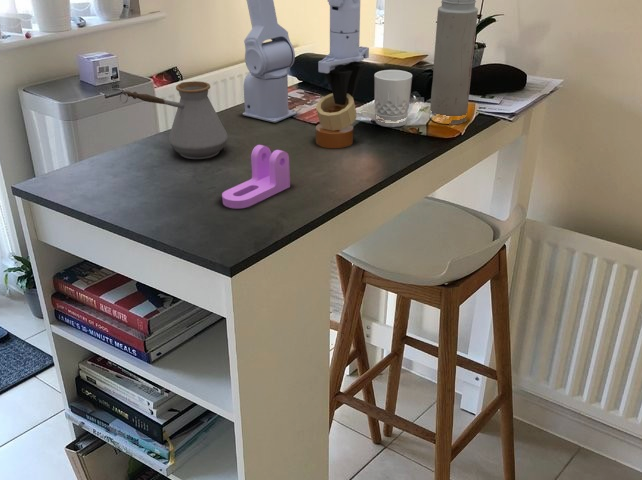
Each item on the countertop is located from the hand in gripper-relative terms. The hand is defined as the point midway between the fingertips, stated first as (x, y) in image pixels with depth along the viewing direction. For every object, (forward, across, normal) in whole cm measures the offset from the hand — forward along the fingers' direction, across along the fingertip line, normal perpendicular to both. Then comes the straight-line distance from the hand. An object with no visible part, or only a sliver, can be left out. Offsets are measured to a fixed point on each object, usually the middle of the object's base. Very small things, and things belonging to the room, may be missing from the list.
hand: (343, 102), depth 151 cm
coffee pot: (+7, -28, +19) cm, 35 cm away
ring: (+3, -2, 0) cm, 3 cm away
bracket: (+7, -33, -4) cm, 34 cm away
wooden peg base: (+7, -3, 0) cm, 8 cm away
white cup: (+7, +14, -3) cm, 16 cm away
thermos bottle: (+7, +23, -12) cm, 27 cm away
